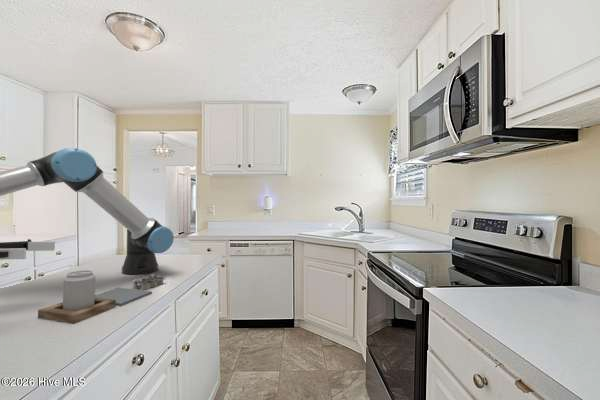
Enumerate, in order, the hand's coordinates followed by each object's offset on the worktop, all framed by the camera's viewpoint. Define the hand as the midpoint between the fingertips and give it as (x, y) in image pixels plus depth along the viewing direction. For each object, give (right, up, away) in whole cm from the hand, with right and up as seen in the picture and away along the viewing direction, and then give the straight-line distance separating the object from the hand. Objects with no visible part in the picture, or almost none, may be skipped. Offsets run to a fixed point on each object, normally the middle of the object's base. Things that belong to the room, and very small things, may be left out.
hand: (40, 249), depth 82 cm
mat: (+13, -19, +16) cm, 28 cm away
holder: (+9, -19, +3) cm, 21 cm away
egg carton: (+15, -20, +30) cm, 39 cm away
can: (+9, -19, +3) cm, 22 cm away
